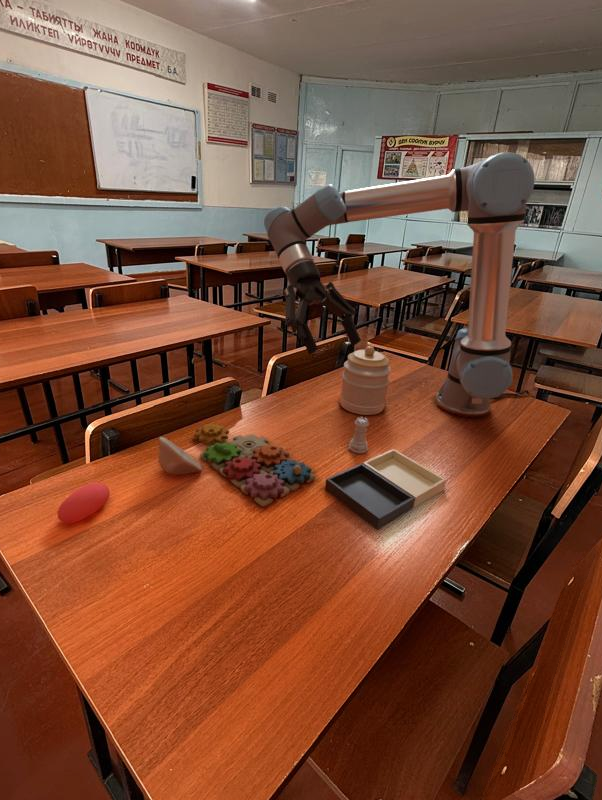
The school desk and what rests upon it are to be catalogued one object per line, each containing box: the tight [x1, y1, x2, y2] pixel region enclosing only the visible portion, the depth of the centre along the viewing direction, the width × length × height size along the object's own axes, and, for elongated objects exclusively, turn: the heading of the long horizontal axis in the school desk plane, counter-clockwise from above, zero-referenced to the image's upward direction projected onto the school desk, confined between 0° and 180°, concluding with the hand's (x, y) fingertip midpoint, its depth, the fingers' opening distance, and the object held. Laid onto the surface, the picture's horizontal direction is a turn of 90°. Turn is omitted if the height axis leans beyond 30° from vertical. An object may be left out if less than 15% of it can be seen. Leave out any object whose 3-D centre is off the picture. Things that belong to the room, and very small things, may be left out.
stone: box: [158, 436, 203, 476], centre depth 88 cm, size 10×7×10 cm
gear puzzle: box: [193, 423, 316, 508], centre depth 94 cm, size 31×16×4 cm, turn 45°
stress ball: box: [56, 481, 111, 524], centre depth 76 cm, size 5×9×6 cm, turn 145°
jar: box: [339, 345, 392, 416], centre depth 120 cm, size 13×13×18 cm
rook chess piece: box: [348, 416, 370, 455], centre depth 101 cm, size 4×4×8 cm
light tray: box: [362, 448, 447, 509], centre depth 92 cm, size 10×14×2 cm
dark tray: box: [324, 462, 415, 530], centre depth 85 cm, size 10×14×2 cm
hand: (336, 347), depth 100 cm, fingers open, 13 cm apart
